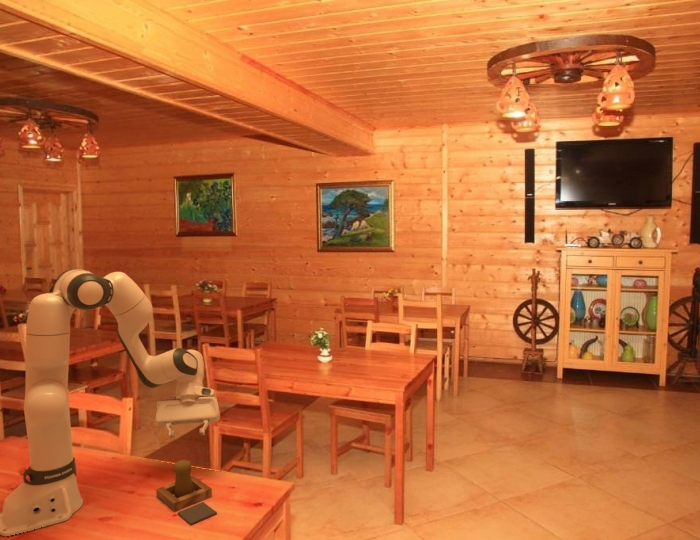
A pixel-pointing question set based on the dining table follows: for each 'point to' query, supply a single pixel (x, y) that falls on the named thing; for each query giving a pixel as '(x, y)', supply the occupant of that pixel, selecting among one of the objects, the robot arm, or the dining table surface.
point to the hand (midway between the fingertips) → (186, 435)
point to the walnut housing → (179, 503)
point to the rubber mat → (197, 513)
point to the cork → (183, 478)
